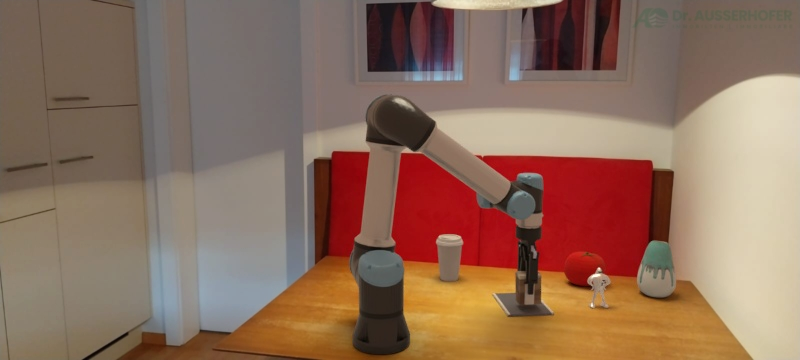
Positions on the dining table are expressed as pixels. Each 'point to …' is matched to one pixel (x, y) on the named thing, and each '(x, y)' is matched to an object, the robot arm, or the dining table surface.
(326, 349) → the dining table surface
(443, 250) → the coffee cup
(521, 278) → the block
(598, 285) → the figurine
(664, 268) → the vase
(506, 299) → the mat
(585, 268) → the tomato
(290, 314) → the dining table surface
